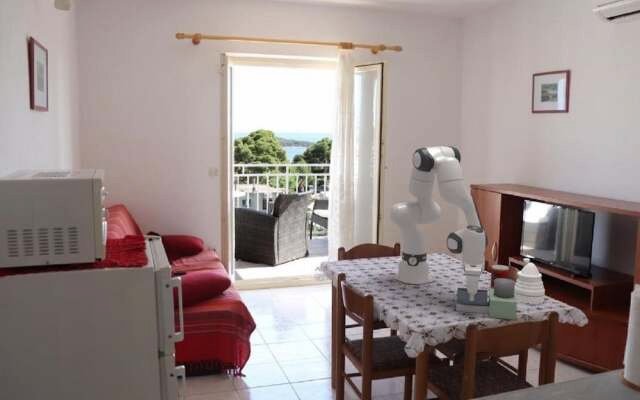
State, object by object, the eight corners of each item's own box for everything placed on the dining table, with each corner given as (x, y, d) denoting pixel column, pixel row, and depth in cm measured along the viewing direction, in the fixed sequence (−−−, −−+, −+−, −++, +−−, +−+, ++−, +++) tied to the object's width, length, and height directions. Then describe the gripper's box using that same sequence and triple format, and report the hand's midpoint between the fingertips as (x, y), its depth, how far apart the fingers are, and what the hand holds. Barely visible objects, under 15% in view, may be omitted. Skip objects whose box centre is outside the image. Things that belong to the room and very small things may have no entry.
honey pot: (507, 299, 244) (509, 259, 242) (521, 293, 253) (523, 255, 251) (536, 306, 235) (538, 264, 233) (549, 300, 244) (551, 260, 242)
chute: (457, 299, 234) (457, 287, 234) (487, 301, 231) (487, 289, 230) (456, 302, 230) (457, 290, 229) (487, 305, 226) (487, 293, 226)
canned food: (507, 288, 261) (508, 265, 260) (508, 293, 254) (509, 269, 252) (490, 286, 263) (491, 264, 262) (490, 291, 256) (491, 268, 254)
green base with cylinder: (457, 301, 241) (458, 272, 239) (513, 306, 234) (514, 276, 233) (455, 313, 224) (457, 282, 223) (515, 319, 218) (517, 287, 216)
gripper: (466, 259, 239) (464, 290, 241) (464, 270, 220) (463, 304, 221) (481, 260, 237) (479, 292, 239) (481, 272, 218) (479, 306, 220)
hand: (471, 298), depth 230 cm, fingers closed on chute, 5 cm apart
